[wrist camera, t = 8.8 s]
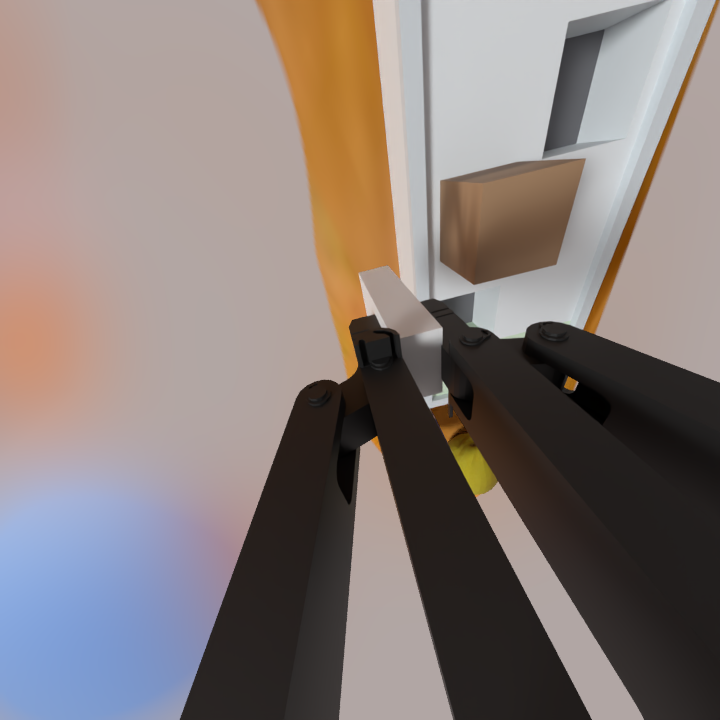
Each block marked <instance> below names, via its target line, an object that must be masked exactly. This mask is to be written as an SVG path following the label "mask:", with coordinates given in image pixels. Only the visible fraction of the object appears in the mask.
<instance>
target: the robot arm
mask: <svg viewBox="0 0 720 720" xmlns="http://www.w3.org/2000/svg"><path fill="white" fill-rule="evenodd" d="M359 277H360V282H361V287H362V292H363V297H364V302H365V307H366V312H367V316H366V317H362V318H358V319H354V320H352V321H351V324H350V326H349V330H350V333H351V337H352V341H353V345H354V349H355V353H356V357H357V360H358V368H357V371H356V372H355V374H354V375H353V376H352V377H350V378H349V379H348V380H346V381H344V382H342V383H341V384H339V385H338V383H336V382H334V381H331V380H320V381H316V382H314V383H311V384H309V385H307V386H306V387H305V388H304V389H302V390H301V391H300V393H299V395H298V396H297V398H296V401H295V403H294V406H293V409H292V411H291V414H290V417H289V420H288V423H287V425H286V428H285V431H284V434H283V436H282V439H281V442H280V445H279V448H278V450H277V453H276V456H275V458H274V461H273V464H272V467H271V470H270V472H269V475H268V478H267V480H266V483H265V486H264V489H263V491H262V494H261V497H260V500H259V502H258V505H257V508H256V511H255V514H254V517H253V519H252V522H251V525H250V527H249V530H248V533H247V536H246V539H245V541H244V544H243V547H242V549H241V552H240V555H239V558H238V560H237V564H236V566H235V569H234V571H233V574H232V577H231V580H230V583H229V585H228V588H227V591H226V594H225V597H224V599H223V602H222V605H221V607H220V610H219V613H218V616H217V618H216V621H215V624H214V627H213V630H212V632H211V635H210V638H209V640H208V643H207V646H206V649H205V652H204V654H203V657H202V660H201V663H200V665H199V668H198V671H197V674H196V676H195V679H194V682H193V685H192V688H191V690H190V693H189V696H188V698H187V701H186V704H185V707H184V710H183V712H182V715H181V718H180V720H339V710H340V698H341V684H342V672H343V659H344V647H345V634H346V622H347V608H348V596H349V584H350V571H351V559H352V546H353V533H354V521H355V507H356V495H357V482H358V469H359V457H360V446H362V445H363V444H365V443H366V442H368V441H370V440H371V439H373V438H374V437H376V436H378V440H379V444H380V447H381V451H382V455H383V459H384V462H385V466H386V470H387V473H388V477H389V481H390V485H391V488H392V492H393V496H394V500H395V503H396V507H397V511H398V515H399V518H400V522H401V526H402V530H403V533H404V537H405V541H406V545H407V548H408V552H409V556H410V560H411V563H412V567H413V571H414V574H415V578H416V582H417V586H418V589H419V593H420V597H421V601H422V604H423V608H424V612H425V616H426V619H427V623H428V627H429V631H430V634H431V637H432V641H433V645H434V649H435V653H436V656H437V660H438V664H439V668H440V672H441V675H442V679H443V683H444V687H445V690H446V694H447V698H448V702H449V705H450V709H451V712H452V716H453V720H592V719H591V717H590V715H589V713H588V711H587V710H586V707H585V706H584V704H583V702H582V700H581V698H580V696H579V694H578V692H577V690H576V688H575V687H574V684H573V683H572V681H571V679H570V677H569V675H568V673H567V671H566V669H565V667H564V665H563V663H562V662H561V660H560V658H559V656H558V654H557V652H556V650H555V648H554V646H553V644H552V642H551V641H550V639H549V637H548V635H547V633H546V631H545V629H544V627H543V625H542V623H541V622H540V619H539V618H538V616H537V614H536V612H535V610H534V608H533V606H532V604H531V602H530V600H529V598H528V597H527V595H526V593H525V591H524V589H523V587H522V585H521V583H520V581H519V579H518V577H517V575H516V574H515V572H514V570H513V568H512V566H511V564H510V562H509V560H508V559H507V557H506V554H505V553H504V551H503V549H502V547H501V545H500V543H499V541H498V539H497V537H496V535H495V533H494V532H493V530H492V528H491V526H490V524H489V522H488V520H487V518H486V516H485V514H484V512H483V510H482V509H481V507H480V505H479V503H478V501H477V499H476V497H475V495H474V493H473V491H472V489H471V488H470V486H469V484H468V482H467V480H466V478H465V476H464V474H463V472H462V470H461V468H460V466H459V465H458V463H457V461H456V459H455V457H454V455H453V453H452V451H451V449H450V447H449V445H448V444H447V442H446V440H445V438H444V436H443V434H442V432H441V430H440V428H439V426H438V424H437V423H436V421H435V419H434V417H433V415H432V413H431V411H430V409H429V407H428V405H427V403H426V401H425V400H424V398H423V397H426V396H430V395H434V394H438V393H442V392H443V382H444V384H445V385H446V387H447V388H448V414H449V418H450V417H453V409H454V411H455V412H456V415H457V416H458V417H459V419H460V420H461V422H462V424H463V425H464V427H465V428H466V430H467V432H468V433H469V435H470V437H471V438H472V440H473V441H474V443H475V445H476V446H477V448H478V449H479V451H480V453H481V454H482V456H483V458H484V459H485V461H486V462H487V464H488V466H489V467H490V469H491V471H492V472H493V474H494V475H495V477H496V479H497V480H498V482H499V483H500V485H501V487H502V488H503V490H504V492H505V493H506V495H507V496H508V498H509V500H510V501H511V503H512V504H513V506H514V508H515V509H516V511H517V513H518V514H519V516H520V517H521V519H522V521H523V522H524V524H525V526H526V527H527V529H528V530H529V532H530V534H531V535H532V537H533V538H534V540H535V542H536V543H537V545H538V547H539V548H540V550H541V551H542V553H543V555H544V556H545V558H546V559H547V561H548V563H549V564H550V566H551V568H552V569H553V571H554V572H555V574H556V576H557V577H558V579H559V581H560V582H561V584H562V585H563V587H564V588H565V590H566V592H567V593H568V595H569V596H570V598H571V600H572V602H573V603H574V605H575V606H576V608H577V610H578V611H579V613H580V615H581V616H582V618H583V619H584V621H585V623H586V624H587V626H588V627H589V629H590V631H591V632H592V634H593V636H594V637H595V639H596V640H597V642H598V644H599V645H600V647H601V648H602V650H603V652H604V653H605V655H606V657H607V658H608V660H609V661H610V663H611V665H612V666H613V668H614V670H615V671H616V673H617V674H618V676H619V678H620V679H621V680H622V682H623V684H624V686H625V687H626V689H627V691H628V692H629V694H630V695H631V697H632V699H633V700H634V702H635V704H636V705H637V707H638V709H639V711H640V712H641V714H642V716H643V718H644V720H720V383H719V382H717V381H714V380H711V379H709V378H706V377H704V376H701V375H698V374H696V373H693V372H691V371H688V370H685V369H683V368H680V367H677V366H675V365H672V364H670V363H667V362H665V361H662V360H659V359H657V358H654V357H652V356H649V355H647V354H644V353H641V352H639V351H636V350H634V349H631V348H628V347H626V346H623V345H621V344H618V343H615V342H613V341H610V340H608V339H605V338H602V337H600V336H597V335H595V334H592V333H589V332H587V331H584V330H582V329H579V328H577V327H574V326H571V325H568V324H564V323H561V322H553V321H547V322H546V321H545V322H538V323H534V324H532V325H530V326H529V327H527V329H526V333H525V337H524V338H507V339H500V338H499V337H497V336H496V335H495V334H494V333H492V332H491V331H489V330H487V329H483V328H479V327H469V326H468V325H467V324H466V323H465V322H464V321H463V320H462V319H461V318H459V317H458V316H457V315H456V314H454V312H453V311H452V310H451V309H449V307H448V306H447V305H446V304H445V303H443V302H442V301H439V300H436V299H433V298H432V299H428V300H424V301H421V302H420V301H419V300H418V299H417V298H416V297H415V296H414V295H413V294H412V292H411V291H410V290H409V289H408V288H407V287H406V286H405V285H404V283H403V282H402V281H401V280H400V279H399V278H398V277H397V276H396V274H395V273H394V272H393V271H392V270H391V269H390V268H389V266H388V265H387V266H383V267H379V268H376V269H372V270H368V271H364V272H360V273H359ZM568 376H569V377H571V378H573V379H574V380H576V381H578V382H579V383H578V385H577V387H576V389H575V391H573V390H568V389H566V388H564V385H565V383H566V380H567V378H568Z"/></svg>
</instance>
